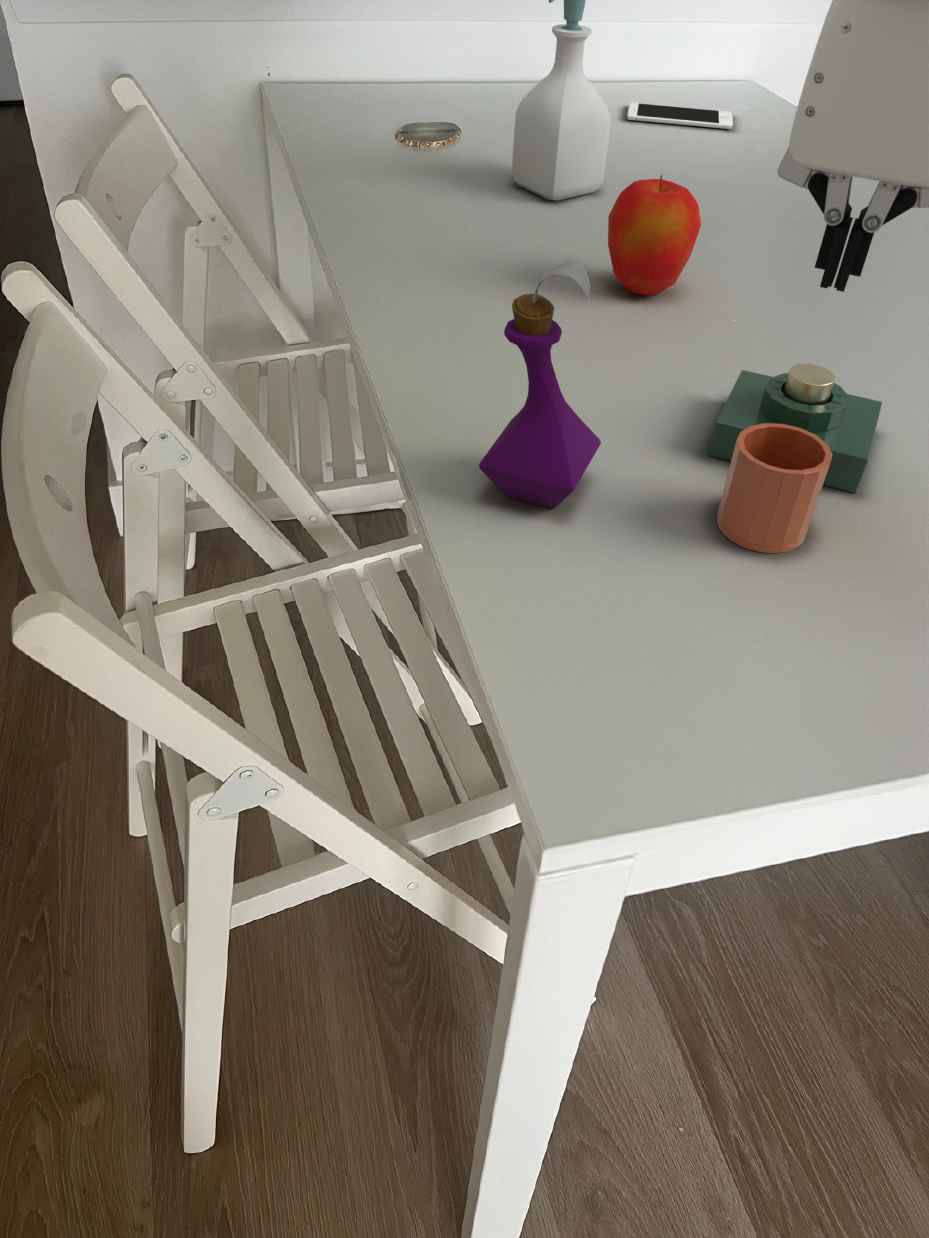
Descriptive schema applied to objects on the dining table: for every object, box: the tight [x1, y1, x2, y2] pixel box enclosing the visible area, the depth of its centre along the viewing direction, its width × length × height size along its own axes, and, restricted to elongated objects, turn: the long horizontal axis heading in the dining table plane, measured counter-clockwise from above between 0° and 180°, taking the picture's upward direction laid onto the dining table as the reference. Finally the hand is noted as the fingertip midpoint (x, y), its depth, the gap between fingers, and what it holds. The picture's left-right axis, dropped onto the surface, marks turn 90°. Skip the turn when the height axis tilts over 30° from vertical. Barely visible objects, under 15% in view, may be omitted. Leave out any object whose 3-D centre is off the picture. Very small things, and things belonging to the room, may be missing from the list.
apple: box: [607, 174, 702, 297], centre depth 102 cm, size 9×9×12 cm
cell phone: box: [626, 101, 734, 130], centre depth 154 cm, size 8×16×1 cm, turn 80°
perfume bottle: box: [478, 259, 602, 509], centre depth 71 cm, size 8×8×18 cm
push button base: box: [708, 369, 883, 494], centre depth 82 cm, size 12×10×5 cm
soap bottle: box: [511, 0, 612, 201], centre depth 121 cm, size 10×10×23 cm
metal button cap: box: [783, 363, 836, 405], centre depth 80 cm, size 4×4×2 cm
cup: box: [716, 423, 832, 554], centre depth 73 cm, size 7×7×7 cm
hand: (834, 281), depth 66 cm, fingers closed
